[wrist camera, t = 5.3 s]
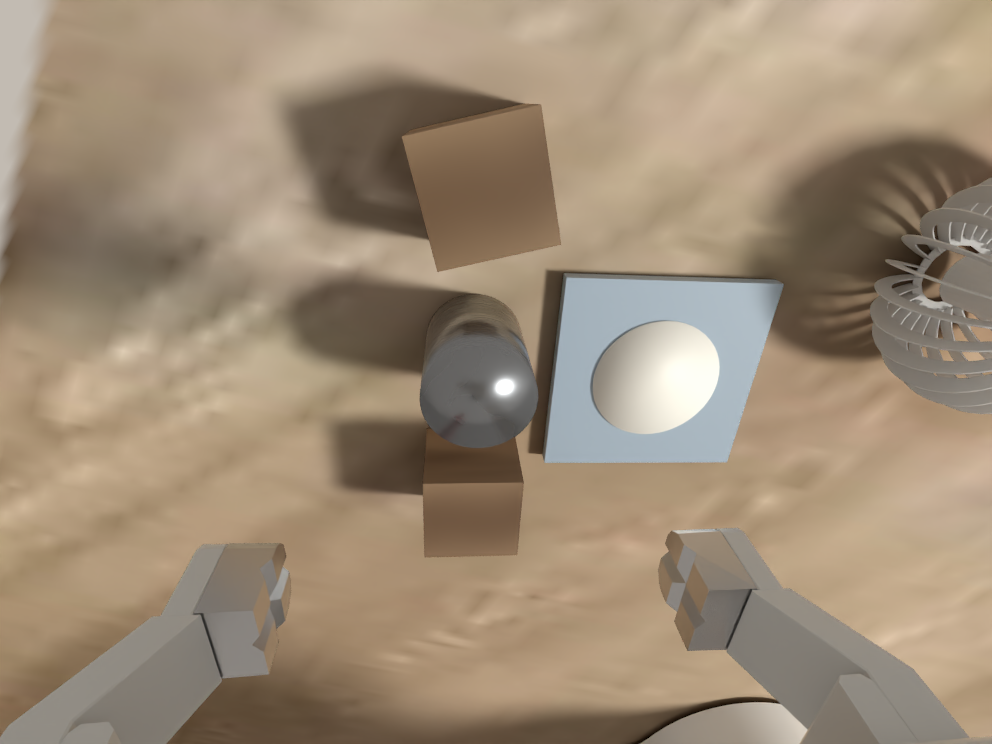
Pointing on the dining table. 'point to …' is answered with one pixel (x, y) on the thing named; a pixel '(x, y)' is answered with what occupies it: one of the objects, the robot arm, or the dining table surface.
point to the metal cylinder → (476, 373)
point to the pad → (654, 366)
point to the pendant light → (942, 306)
